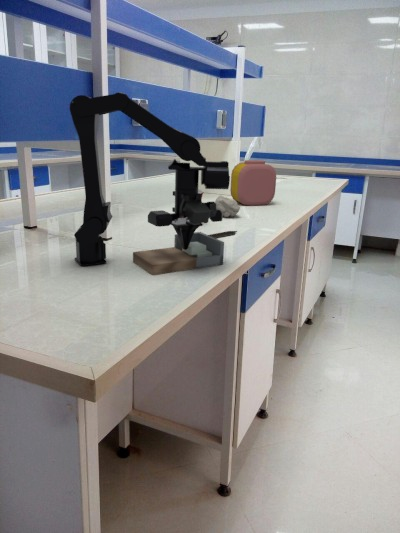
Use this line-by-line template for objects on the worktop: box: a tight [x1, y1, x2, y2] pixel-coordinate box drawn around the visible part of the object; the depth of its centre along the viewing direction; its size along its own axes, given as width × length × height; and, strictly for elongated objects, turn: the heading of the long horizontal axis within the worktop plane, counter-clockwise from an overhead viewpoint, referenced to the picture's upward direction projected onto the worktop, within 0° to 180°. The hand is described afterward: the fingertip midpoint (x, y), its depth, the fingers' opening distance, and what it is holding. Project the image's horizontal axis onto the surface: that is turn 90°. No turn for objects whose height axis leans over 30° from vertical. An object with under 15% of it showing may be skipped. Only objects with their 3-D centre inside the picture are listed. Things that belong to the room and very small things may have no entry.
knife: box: [208, 230, 238, 239], centre depth 143 cm, size 25×6×1 cm, turn 126°
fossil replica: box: [214, 195, 241, 218], centre depth 176 cm, size 12×8×10 cm
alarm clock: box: [229, 159, 277, 206], centre depth 203 cm, size 18×11×19 cm, turn 108°
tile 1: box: [182, 242, 206, 255], centre depth 117 cm, size 4×4×2 cm
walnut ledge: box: [132, 246, 197, 276], centre depth 114 cm, size 12×12×2 cm
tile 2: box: [189, 250, 212, 258], centre depth 118 cm, size 4×4×2 cm
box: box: [173, 231, 225, 269], centre depth 118 cm, size 8×12×6 cm, turn 30°
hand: (185, 249), depth 115 cm, fingers closed
